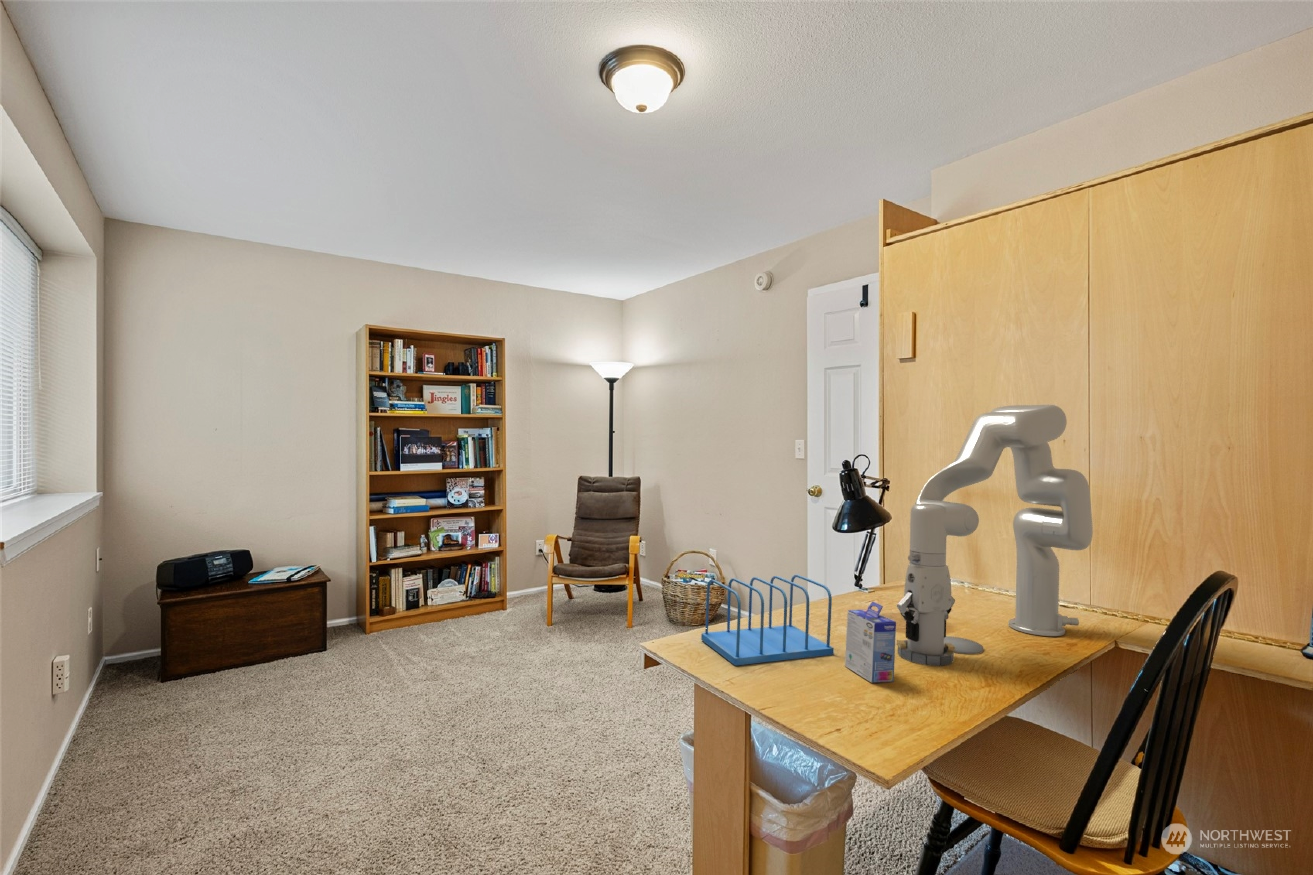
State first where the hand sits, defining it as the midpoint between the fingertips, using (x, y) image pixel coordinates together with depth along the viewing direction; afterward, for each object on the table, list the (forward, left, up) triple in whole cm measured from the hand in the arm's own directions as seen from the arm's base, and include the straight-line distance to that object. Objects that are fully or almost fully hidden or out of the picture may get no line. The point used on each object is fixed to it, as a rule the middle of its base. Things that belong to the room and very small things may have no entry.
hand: (925, 637), depth 139 cm
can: (0, 0, -5) cm, 5 cm away
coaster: (-10, -9, -4) cm, 14 cm away
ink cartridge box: (+15, +13, -5) cm, 20 cm away
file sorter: (+35, 0, -5) cm, 36 cm away
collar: (0, 0, -4) cm, 4 cm away
